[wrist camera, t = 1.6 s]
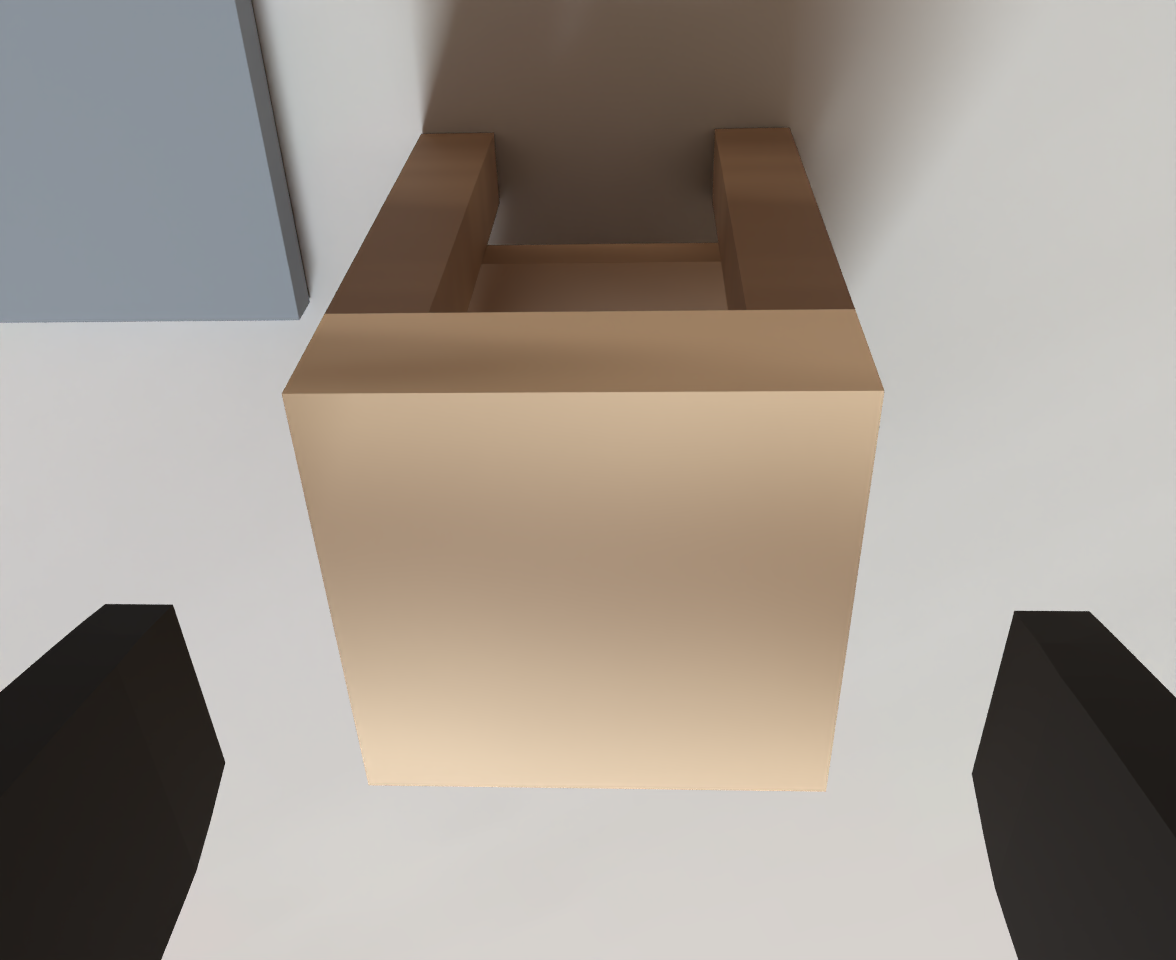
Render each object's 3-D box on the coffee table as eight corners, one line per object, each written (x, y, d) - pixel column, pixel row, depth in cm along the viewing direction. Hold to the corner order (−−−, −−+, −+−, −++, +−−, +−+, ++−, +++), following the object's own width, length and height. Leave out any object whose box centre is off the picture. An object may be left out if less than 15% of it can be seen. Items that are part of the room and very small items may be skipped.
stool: (765, 439, 17) (825, 790, 12) (457, 440, 18) (367, 785, 12) (789, 127, 15) (884, 390, 9) (421, 133, 15) (282, 393, 9)
